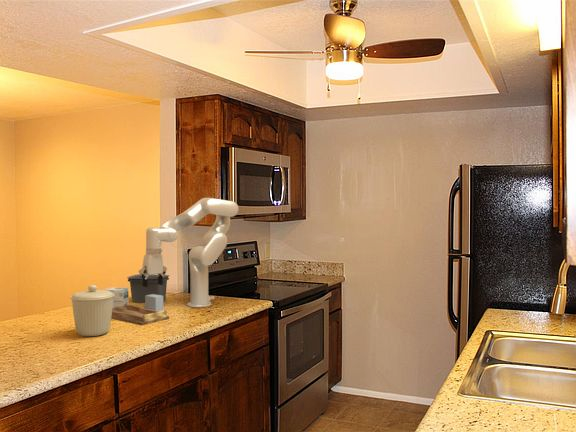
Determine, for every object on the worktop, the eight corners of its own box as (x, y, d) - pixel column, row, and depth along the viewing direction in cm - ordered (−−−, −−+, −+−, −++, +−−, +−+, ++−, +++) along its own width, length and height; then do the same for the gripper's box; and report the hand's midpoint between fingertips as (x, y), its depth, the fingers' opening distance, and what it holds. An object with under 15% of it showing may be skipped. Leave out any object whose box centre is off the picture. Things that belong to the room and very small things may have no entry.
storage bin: (124, 303, 298) (124, 277, 298) (138, 297, 313) (138, 273, 313) (161, 305, 294) (160, 278, 293) (173, 299, 309) (172, 274, 308)
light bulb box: (129, 307, 287) (129, 287, 286) (124, 310, 280) (123, 289, 279) (109, 307, 288) (109, 286, 287) (104, 310, 281) (103, 289, 280)
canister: (81, 328, 243) (80, 281, 242) (121, 328, 243) (120, 281, 242) (63, 339, 225) (62, 288, 224) (106, 339, 225) (105, 288, 224)
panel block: (153, 309, 283) (152, 294, 282) (163, 311, 278) (163, 295, 278) (145, 311, 279) (145, 295, 278) (155, 313, 274) (155, 297, 274)
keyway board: (129, 310, 279) (129, 302, 279) (169, 318, 262) (169, 310, 261) (102, 316, 266) (102, 307, 266) (142, 325, 249) (142, 316, 248)
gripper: (161, 250, 286) (161, 283, 287) (134, 252, 272) (134, 286, 273) (171, 251, 282) (170, 284, 282) (144, 253, 268) (144, 288, 268)
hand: (152, 285), depth 277 cm, fingers open, 9 cm apart
